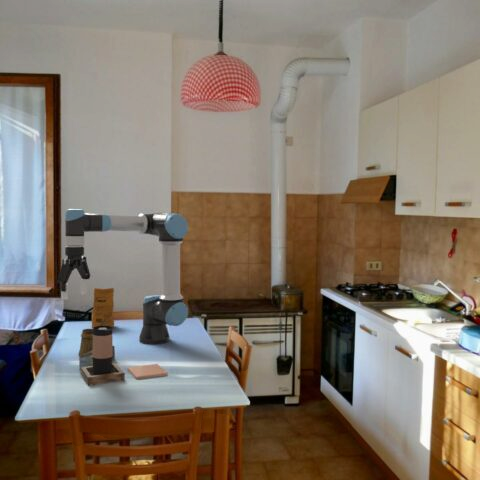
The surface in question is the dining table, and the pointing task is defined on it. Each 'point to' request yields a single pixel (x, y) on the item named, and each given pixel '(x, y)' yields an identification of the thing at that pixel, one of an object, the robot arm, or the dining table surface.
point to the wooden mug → (87, 340)
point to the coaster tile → (147, 371)
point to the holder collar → (104, 378)
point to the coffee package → (103, 307)
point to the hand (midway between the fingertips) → (74, 296)
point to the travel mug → (102, 350)
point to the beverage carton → (90, 358)
